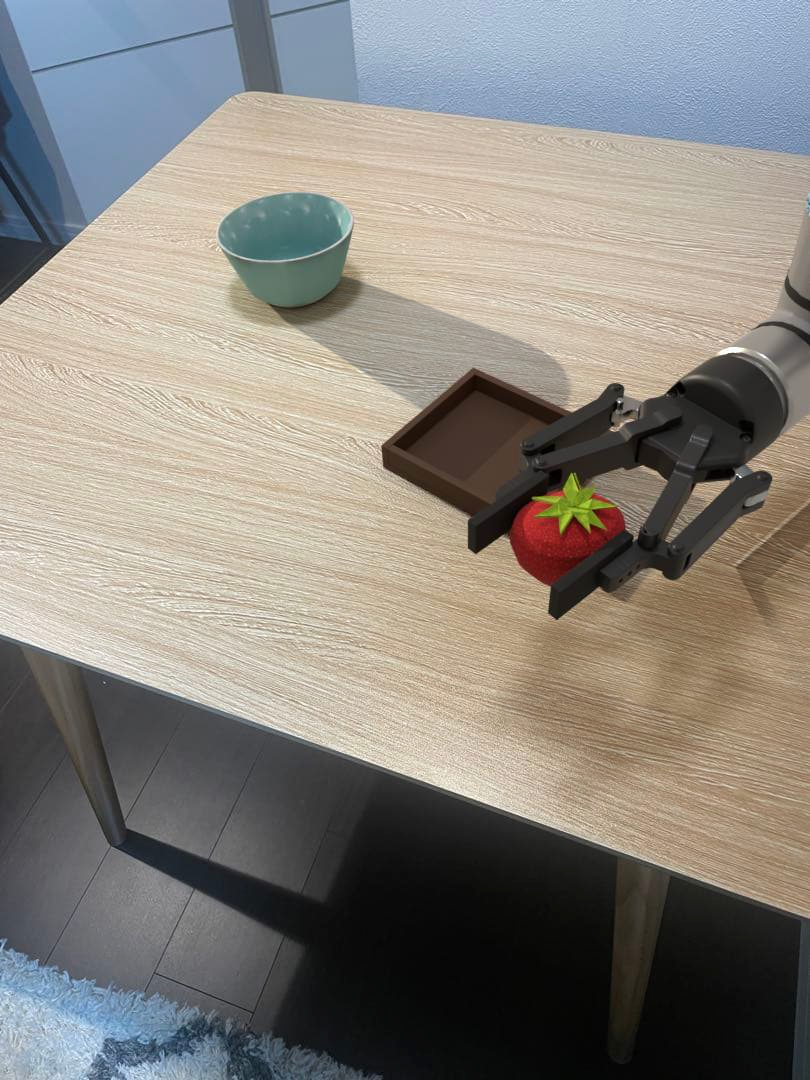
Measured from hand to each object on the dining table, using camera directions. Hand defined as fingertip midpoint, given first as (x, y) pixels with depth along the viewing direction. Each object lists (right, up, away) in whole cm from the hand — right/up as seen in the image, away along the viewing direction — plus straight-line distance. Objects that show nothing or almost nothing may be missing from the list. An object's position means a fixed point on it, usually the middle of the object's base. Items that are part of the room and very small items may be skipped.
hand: (512, 568), depth 56 cm
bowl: (-20, +32, +54) cm, 66 cm away
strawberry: (+4, -2, +7) cm, 8 cm away
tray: (+2, +9, +32) cm, 34 cm away
